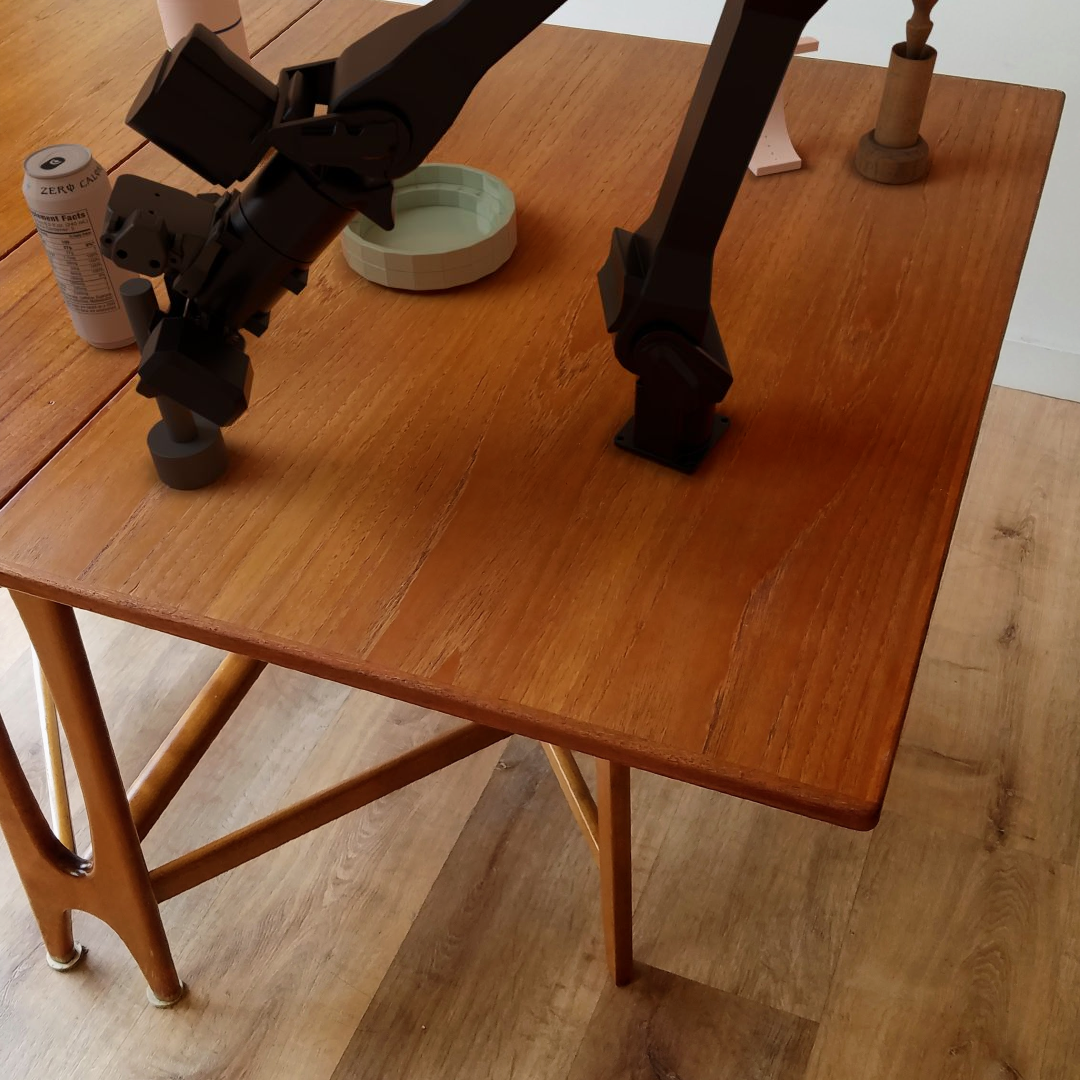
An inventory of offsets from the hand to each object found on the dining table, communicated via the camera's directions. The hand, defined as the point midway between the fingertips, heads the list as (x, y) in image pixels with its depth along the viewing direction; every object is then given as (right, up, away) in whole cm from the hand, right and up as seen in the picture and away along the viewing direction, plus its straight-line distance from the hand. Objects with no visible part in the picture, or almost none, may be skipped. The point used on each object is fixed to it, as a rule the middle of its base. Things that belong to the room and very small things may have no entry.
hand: (145, 382), depth 77 cm
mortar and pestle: (+59, +25, +33) cm, 72 cm away
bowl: (+17, +15, +25) cm, 34 cm away
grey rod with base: (+2, -5, +5) cm, 8 cm away
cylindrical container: (-5, +28, +39) cm, 48 cm away
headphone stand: (+48, +26, +35) cm, 65 cm away
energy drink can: (-8, +6, +17) cm, 20 cm away
